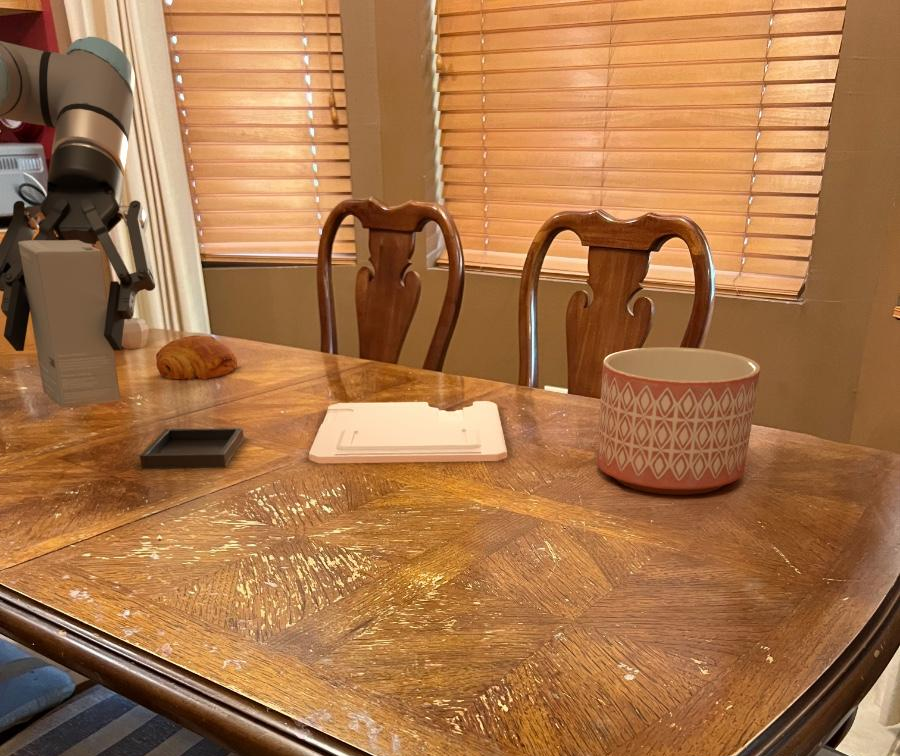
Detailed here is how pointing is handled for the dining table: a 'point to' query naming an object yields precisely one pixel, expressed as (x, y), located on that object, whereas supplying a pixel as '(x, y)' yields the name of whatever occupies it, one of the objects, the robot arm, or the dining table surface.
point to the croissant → (195, 358)
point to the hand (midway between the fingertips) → (63, 343)
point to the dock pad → (193, 448)
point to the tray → (408, 433)
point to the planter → (676, 418)
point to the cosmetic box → (70, 321)
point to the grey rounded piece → (134, 333)
